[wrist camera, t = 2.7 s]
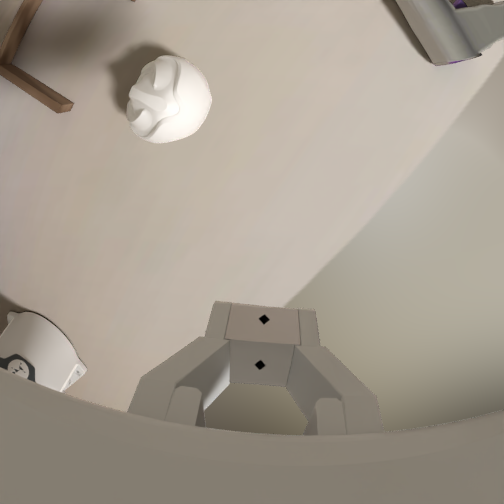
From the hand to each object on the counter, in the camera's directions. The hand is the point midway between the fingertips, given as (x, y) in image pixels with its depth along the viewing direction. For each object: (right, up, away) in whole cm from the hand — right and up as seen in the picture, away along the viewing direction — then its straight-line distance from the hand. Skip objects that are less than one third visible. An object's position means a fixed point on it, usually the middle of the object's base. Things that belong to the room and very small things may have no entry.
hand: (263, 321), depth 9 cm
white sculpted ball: (-7, +17, +18) cm, 26 cm away
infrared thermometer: (+21, +29, +10) cm, 37 cm away
